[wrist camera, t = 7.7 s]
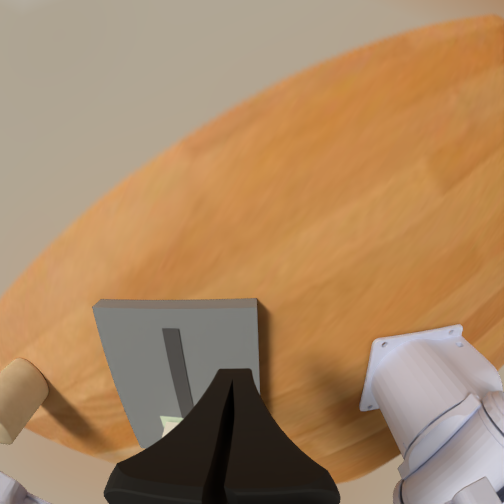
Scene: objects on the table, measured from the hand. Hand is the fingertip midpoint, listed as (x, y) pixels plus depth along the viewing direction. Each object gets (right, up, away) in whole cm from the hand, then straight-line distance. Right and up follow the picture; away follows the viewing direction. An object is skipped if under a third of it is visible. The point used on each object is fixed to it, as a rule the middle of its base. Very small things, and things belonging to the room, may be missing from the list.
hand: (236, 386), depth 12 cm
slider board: (-5, -6, +11) cm, 13 cm away
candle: (-24, -8, +12) cm, 28 cm away
